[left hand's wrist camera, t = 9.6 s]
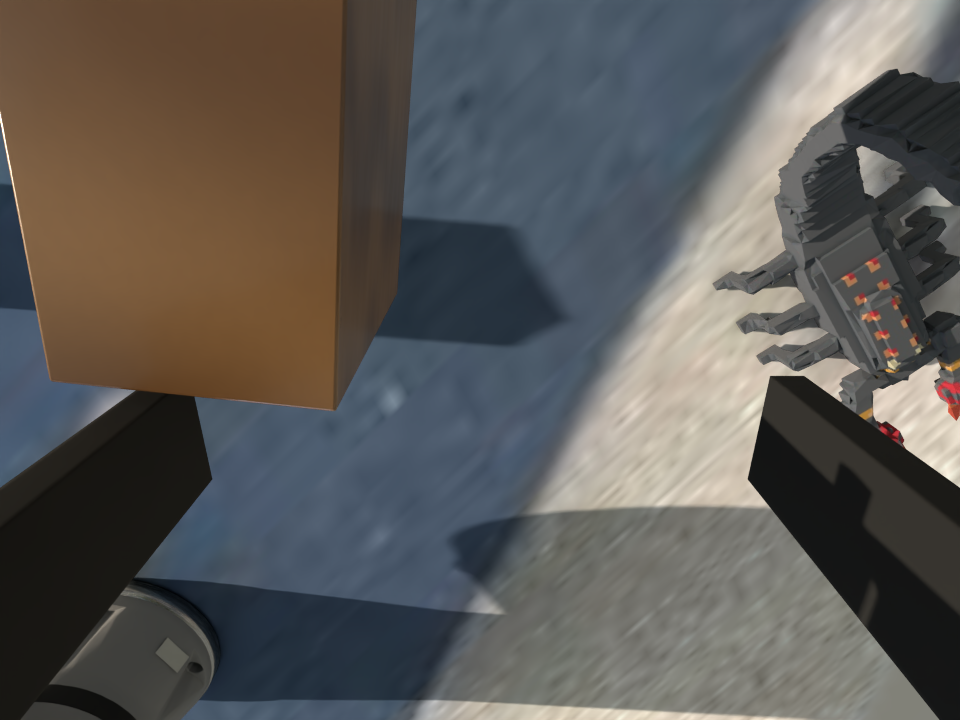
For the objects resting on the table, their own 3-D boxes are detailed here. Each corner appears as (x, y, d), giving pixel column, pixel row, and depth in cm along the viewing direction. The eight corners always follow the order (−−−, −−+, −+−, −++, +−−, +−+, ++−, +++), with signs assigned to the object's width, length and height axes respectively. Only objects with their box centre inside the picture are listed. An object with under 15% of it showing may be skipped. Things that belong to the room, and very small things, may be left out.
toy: (844, 27, 32) (1269, -108, 15) (990, 365, 40) (1376, 532, 22) (645, 173, 35) (806, 202, 18) (819, 459, 42) (1045, 670, 26)
